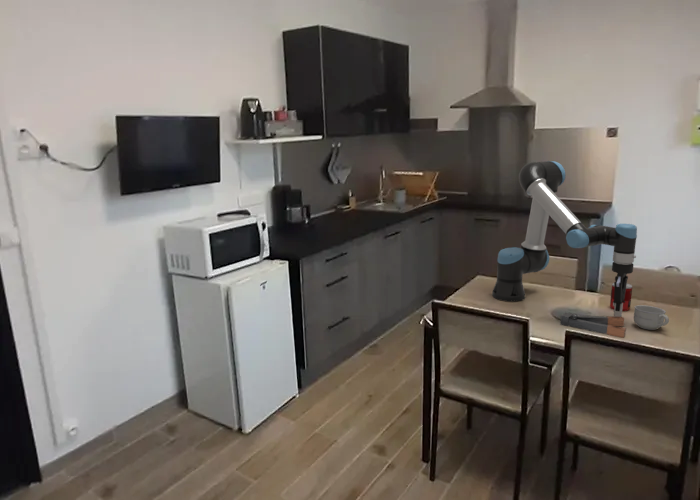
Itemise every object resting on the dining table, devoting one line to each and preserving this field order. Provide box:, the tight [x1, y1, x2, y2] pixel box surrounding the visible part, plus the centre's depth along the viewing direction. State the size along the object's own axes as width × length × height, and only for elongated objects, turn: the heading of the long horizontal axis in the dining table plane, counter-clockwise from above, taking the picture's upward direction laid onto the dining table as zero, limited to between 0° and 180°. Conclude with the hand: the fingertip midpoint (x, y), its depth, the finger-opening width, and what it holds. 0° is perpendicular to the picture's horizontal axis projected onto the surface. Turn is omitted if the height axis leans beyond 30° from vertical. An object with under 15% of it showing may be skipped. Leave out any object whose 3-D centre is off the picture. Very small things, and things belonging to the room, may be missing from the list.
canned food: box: [609, 282, 633, 312], centre depth 225 cm, size 8×8×11 cm
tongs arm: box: [571, 313, 625, 327], centre depth 206 cm, size 20×4×4 cm, turn 80°
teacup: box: [633, 304, 670, 331], centre depth 201 cm, size 14×11×8 cm
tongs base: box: [559, 311, 627, 338], centre depth 202 cm, size 24×6×4 cm, turn 50°
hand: (617, 317), depth 209 cm, fingers closed
